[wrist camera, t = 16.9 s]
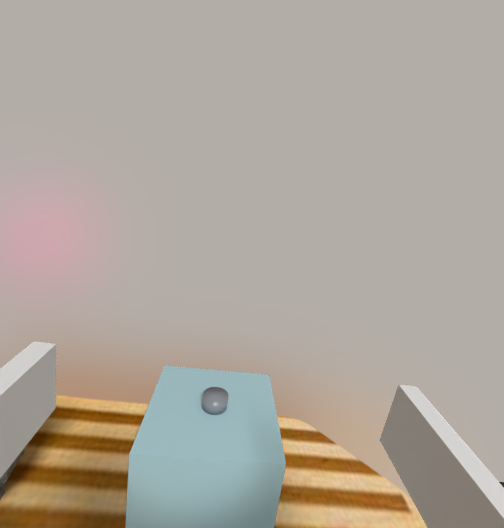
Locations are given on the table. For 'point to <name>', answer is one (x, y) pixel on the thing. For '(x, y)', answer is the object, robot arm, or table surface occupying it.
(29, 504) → the table surface
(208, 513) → the cover tub
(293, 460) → the table surface
